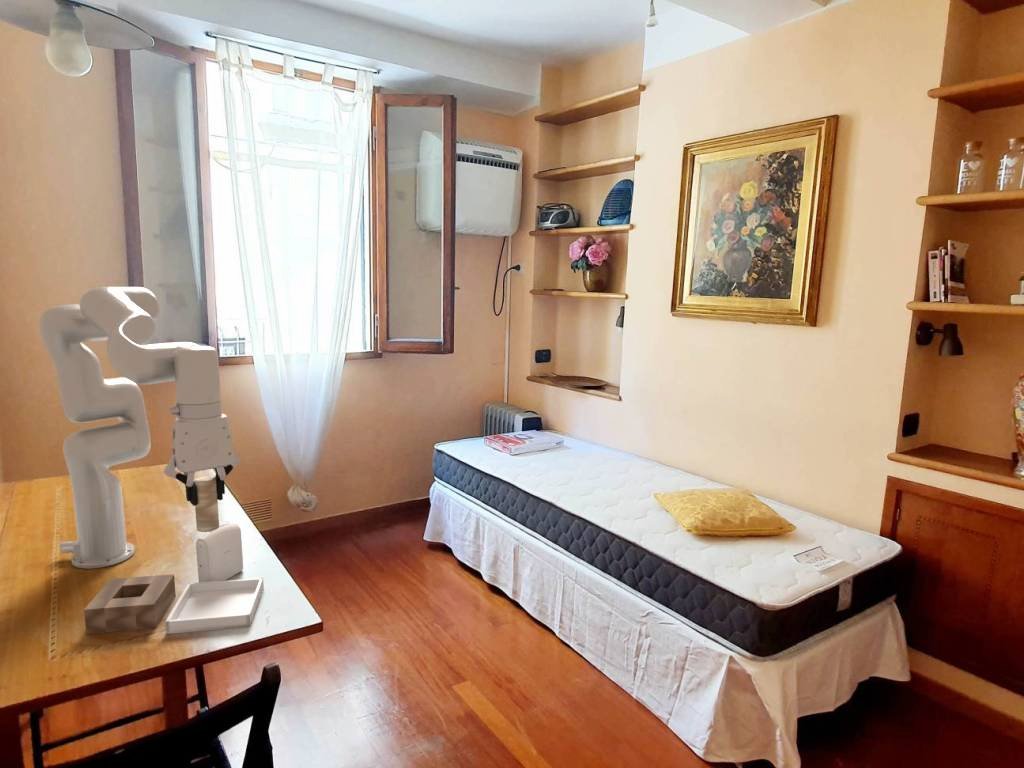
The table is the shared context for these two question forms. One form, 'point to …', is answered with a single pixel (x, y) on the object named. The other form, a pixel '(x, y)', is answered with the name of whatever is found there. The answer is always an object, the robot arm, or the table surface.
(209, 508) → the dowel
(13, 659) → the table surface
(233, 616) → the tray
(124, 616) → the holder
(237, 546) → the photo printer
